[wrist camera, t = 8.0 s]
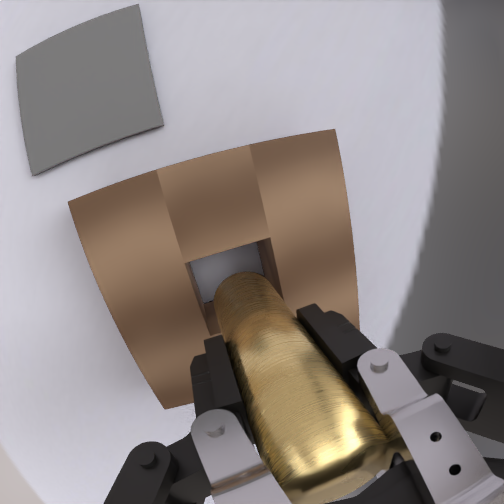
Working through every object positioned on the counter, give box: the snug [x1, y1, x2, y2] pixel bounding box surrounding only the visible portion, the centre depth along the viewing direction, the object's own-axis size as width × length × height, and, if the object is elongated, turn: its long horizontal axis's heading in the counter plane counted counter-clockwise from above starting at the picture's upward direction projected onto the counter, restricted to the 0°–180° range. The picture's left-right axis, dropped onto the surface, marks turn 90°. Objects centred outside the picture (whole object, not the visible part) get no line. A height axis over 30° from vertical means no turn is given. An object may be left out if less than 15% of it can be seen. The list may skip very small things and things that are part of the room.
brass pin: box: [214, 272, 389, 504], centre depth 10 cm, size 3×3×10 cm
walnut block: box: [68, 129, 360, 409], centre depth 17 cm, size 14×14×4 cm
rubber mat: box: [16, 4, 164, 176], centre depth 13 cm, size 9×9×1 cm
